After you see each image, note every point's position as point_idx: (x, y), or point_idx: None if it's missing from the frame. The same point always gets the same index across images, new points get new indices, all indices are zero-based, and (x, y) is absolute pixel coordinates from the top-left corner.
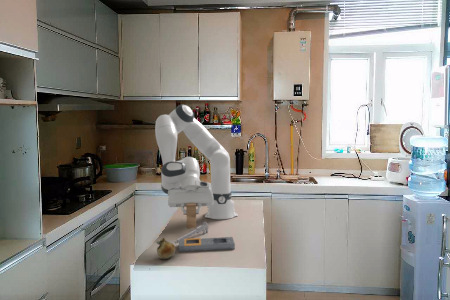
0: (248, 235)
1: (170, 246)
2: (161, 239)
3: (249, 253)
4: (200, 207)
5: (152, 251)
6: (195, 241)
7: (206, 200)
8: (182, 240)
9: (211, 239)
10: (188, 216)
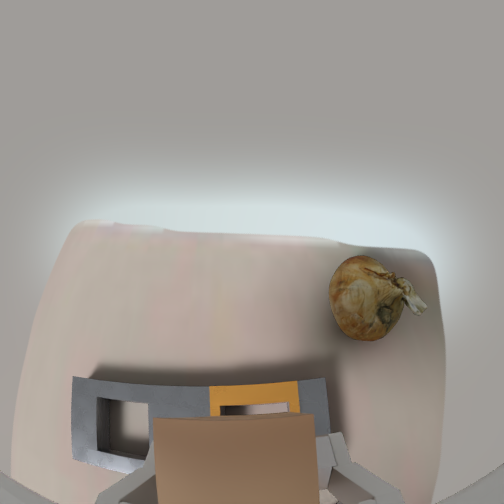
0: None
1: (348, 265)
2: (404, 283)
3: (58, 325)
4: (121, 487)
5: (427, 380)
6: None
7: (15, 497)
8: None
9: None
10: (277, 414)
